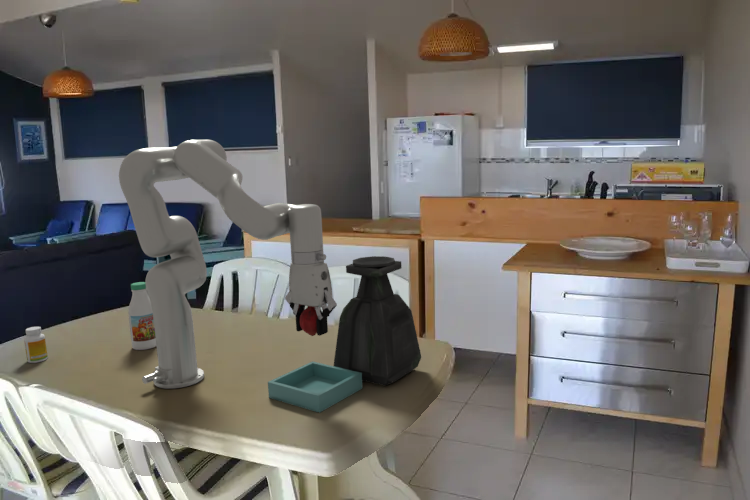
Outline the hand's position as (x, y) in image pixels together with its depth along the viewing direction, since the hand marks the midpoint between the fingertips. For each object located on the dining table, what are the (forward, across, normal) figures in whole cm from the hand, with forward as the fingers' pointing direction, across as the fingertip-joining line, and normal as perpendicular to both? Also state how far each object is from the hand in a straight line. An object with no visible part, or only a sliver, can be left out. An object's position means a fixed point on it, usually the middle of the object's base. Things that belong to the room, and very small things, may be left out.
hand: (312, 331), depth 147 cm
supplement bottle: (+16, +88, +24) cm, 92 cm away
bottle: (+16, -6, -18) cm, 25 cm away
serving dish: (+16, 0, 0) cm, 16 cm away
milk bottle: (+16, +70, 0) cm, 71 cm away
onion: (+1, 0, 0) cm, 1 cm away
